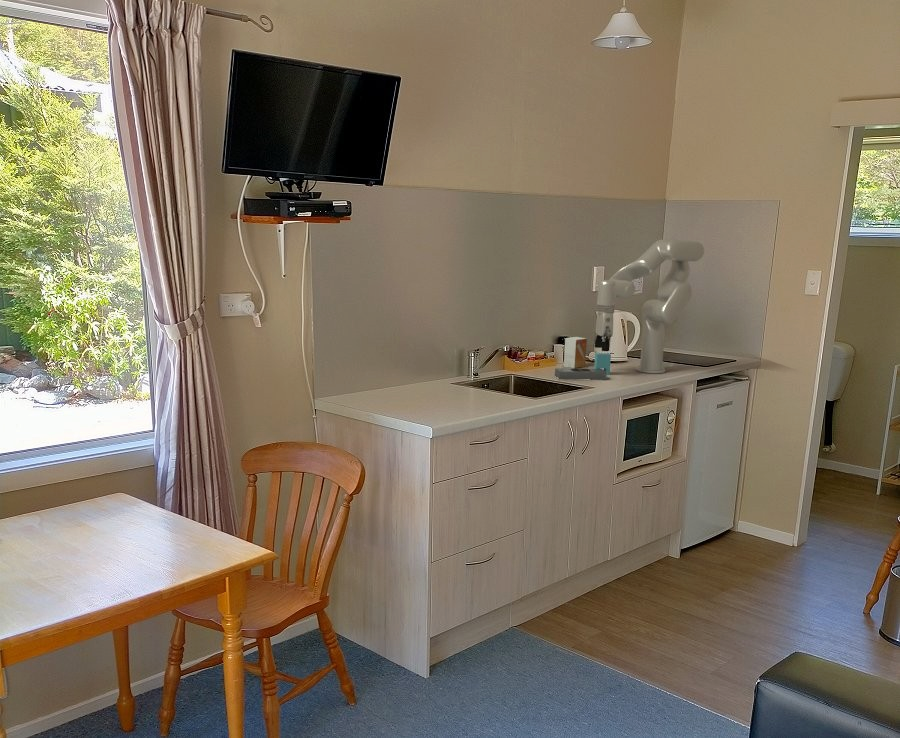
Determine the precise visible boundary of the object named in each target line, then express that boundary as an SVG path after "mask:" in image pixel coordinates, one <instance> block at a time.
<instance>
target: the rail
mask: <svg viewBox="0 0 900 738" xmlns="http://www.w3.org/2000/svg"><path fill="white" fill-rule="evenodd" d="M555 376H556V377H558V378H559V379H590V380H589V381H607V375H606V371H604V368H600V369H594V368H569V367H566V368H558V367H556V368H554V377H555ZM556 377H555V378H556Z"/></svg>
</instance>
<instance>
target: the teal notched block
mask: <svg viewBox="0 0 900 738" xmlns="http://www.w3.org/2000/svg"><path fill="white" fill-rule="evenodd" d="M611 357H612V354H611V353H609V352H607V353H606V352H605V353H604V352H603V353H602V352H601V353H600V352H599V353H598V352H595V353H594V364H593V365H594V367H593V369H603V370H604V371H606V376H610V373H611V372H610V371H611V360H612V358H611Z"/></svg>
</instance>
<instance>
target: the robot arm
mask: <svg viewBox="0 0 900 738" xmlns="http://www.w3.org/2000/svg"><path fill="white" fill-rule="evenodd" d="M704 255H705V248H704V246H703V244H702V243H701V242H699V241H691V240H678V239H658V240H655V242H654V243H653V244H652V245H650V247H649V248H647V250H646V251H645V252H644V253H642V254H641V256H640V257H639V258H637V259H636V260H634V261H633V262H631V263H629V264H628V265H626V266H623V267H622V268H620V269H619V270H618V271H616V272H615V273H614V274H613V275H612V276H611V277H610V278H609V279H601V280H600V281H598V288H597V298H596V311H595V312H596V314H597V316H596V323H595V335H594V348H596V349H597V348H599V349H601V352H609V351H610V347H611V338H612V337H614V336H613V334H614V314H615V307H616V298H620V299H629V298H632V297H633V296H634V295H635V293H636V286H635V284H634V283H633V282H632V281H634V280H637V279H641V278H644V277H647V276H650V275H652V274H653V273H654V272H655V270H657V269H658V268H659V267H660V265H662V264H663V263H664V262H665V261H666V260H667V261H669V260H670V261H671V266H670V269H669V271H668V273H667V275H666V276H665V277H664V279H663V280H662V281H661V283H660V285H659V286H658V288H657V296H658V298H659V299H649V300H647V301H645V302H644V304H643V306H642V308H641V317H642V318H641V319H642V335H641V351H640V363H639V365H637V367H636V371H637V372H639V373H645V374H664V373H666V368H673V367H674V363H673V362H666V361H664V359H663V358H664V348H665V347H664V346H665V337H666V336H665V334H666V332H665V331H666V330H665V325H672V324H673V323H676V322H677V320H678V319H679V317H680V316H681V315H682V313H683V312H684V310H685V309H686V307H687V305H688V303H690V300H691V299H692V294H693V289H692V286H691V285H690V284H689V283H688V282H687V280H688V279H689V276H690V273H691V269H690V263H689V262H697V261H700V260H701V259H703V257H704ZM664 324H665V325H664Z"/></svg>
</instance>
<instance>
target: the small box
mask: <svg viewBox="0 0 900 738" xmlns="http://www.w3.org/2000/svg"><path fill="white" fill-rule="evenodd" d="M587 341H588V338H586V337H580V336H573V337H572V336H571V337H566V338H564V354H563V367H566V368H574V369H580V368H584V367H586V355H587V345H588V344H587V343H588V342H587Z"/></svg>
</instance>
